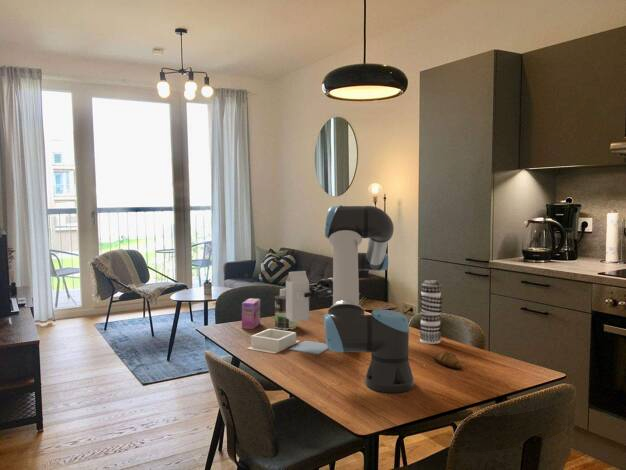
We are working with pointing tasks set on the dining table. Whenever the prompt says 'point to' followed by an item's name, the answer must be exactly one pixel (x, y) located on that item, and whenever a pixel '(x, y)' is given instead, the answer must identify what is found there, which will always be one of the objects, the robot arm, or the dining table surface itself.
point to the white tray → (272, 340)
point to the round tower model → (430, 312)
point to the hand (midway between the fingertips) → (288, 294)
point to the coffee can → (282, 314)
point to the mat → (310, 347)
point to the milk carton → (294, 307)
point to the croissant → (447, 359)
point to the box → (250, 313)
